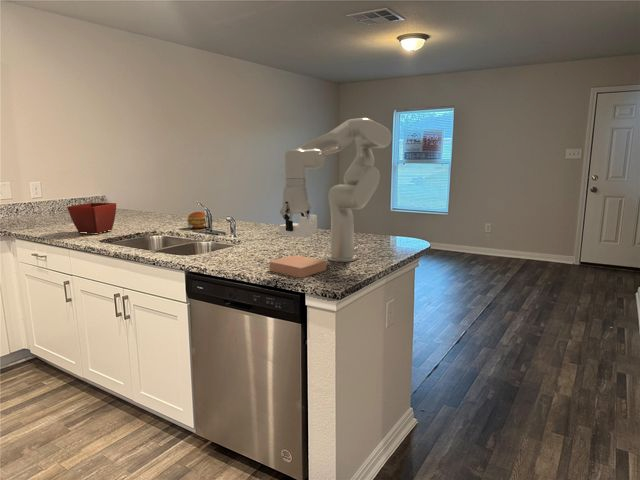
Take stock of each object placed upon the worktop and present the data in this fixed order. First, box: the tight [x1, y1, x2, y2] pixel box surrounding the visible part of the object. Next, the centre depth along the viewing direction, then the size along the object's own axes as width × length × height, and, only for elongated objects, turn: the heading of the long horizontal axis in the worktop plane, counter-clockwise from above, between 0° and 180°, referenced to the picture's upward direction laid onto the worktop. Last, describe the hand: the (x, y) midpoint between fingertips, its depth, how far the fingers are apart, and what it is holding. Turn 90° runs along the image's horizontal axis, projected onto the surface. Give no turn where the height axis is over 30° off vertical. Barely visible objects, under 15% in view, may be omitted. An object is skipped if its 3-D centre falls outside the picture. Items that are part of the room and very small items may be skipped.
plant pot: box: [66, 202, 117, 233], centre depth 263 cm, size 19×19×17 cm
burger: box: [187, 211, 206, 230], centre depth 276 cm, size 13×14×10 cm
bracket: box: [278, 214, 318, 238], centre depth 169 cm, size 13×7×8 cm, turn 53°
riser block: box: [268, 254, 327, 278], centre depth 173 cm, size 14×17×4 cm
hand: (296, 229), depth 170 cm, fingers closed on bracket, 7 cm apart
